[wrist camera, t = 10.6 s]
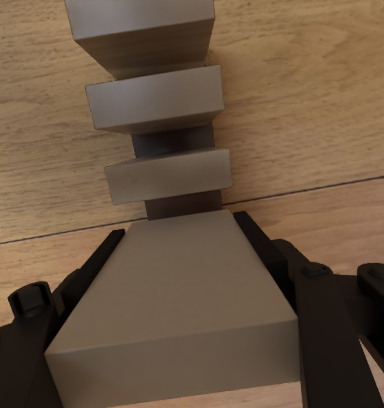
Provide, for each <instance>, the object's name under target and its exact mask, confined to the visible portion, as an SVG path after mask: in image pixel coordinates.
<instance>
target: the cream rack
mask: <svg viewBox="0 0 384 408" xmlns="http://www.w3.org/2000/svg"><path fill="white" fill-rule="evenodd" d="M64 1H65V5H66V10H67V14H68V18H69V22H70V26H71V31H72V35H73V39H74V41H75V42H76V43H77V44H78V45H80V46H81V47H82V48H83V49H84V50H85V51H86V52H87V53H88V54H89V55H90V56H92V57H93V58H94V59H95V60H96V61H97V62H98V63H99V64H100V65H101V66H102V67H104V68H105V69H106V70H107V71H108V72H109V73H110V74H111V75H112V76H113V77H114V78H116V79H117V80H116V81H110V82H103V83H97V84H90V85H86V86H85V89H86V93H87V97H88V102H89V106H90V110H91V114H92V118H93V123H94V127H95V129H96V130H102V131H108V132H115V133H122V134H128V135H131V136H132V141H133V146H134V151H135V156H136V158H135V159H131V160H128V161H124V162H121V163H118V164H114V165H111V166H107V167H105V168H104V169H105V173H106V177H107V181H108V186H109V190H110V194H111V198H112V202H113V205H117V204H124V203H131V202H137V201H144V200H145V205H146V210H147V215H148V220H149V221H151V220H158V219H165V218H171V217H178V216H185V215H192V214H198V213H205V212H212V211H219V210H222V202H221V193H220V189H225V188H232V187H233V181H232V172H231V162H230V153H229V149H227V148H219V147H215V143H214V134H213V126H212V120H213V119H215V118H216V117H217V116H218V115H219V114H220V113H221V112H222V111H224V110H225V105H224V95H223V86H222V76H221V67H220V65H212V66H206V67H205V60H206V56H207V51H208V47H209V43H210V38H211V34H212V30H213V25H214V21H215V9H214V0H64Z"/></svg>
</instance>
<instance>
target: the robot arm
mask: <svg viewBox="0 0 384 408" xmlns="http://www.w3.org/2000/svg"><path fill="white" fill-rule="evenodd" d="M233 215H234V219H235V220H236V222H237V223H238V225H239V226H240V228H241V230H242V231H243V233H244V234H245V236H246V237H247V239H248V241H249V242H250V244H251V245H252V247H253V248H254V250H255V251H256V253H257V255H258V256H259V258H260V259H261V261H262V262H263V264H264V265H265V267H266V269H267V270H268V272H269V273H270V275H271V276H272V278H273V279H274V281H275V283H276V284H277V286H278V287H279V289H280V290H281V292H282V293H283V295H284V297H285V298H286V300H287V301H288V303H289V304H290V306H291V307H292V309H293V311H294V312H295V314H296V315H297V317H298V332H299V355H300V379H301V392H302V403H303V408H384V403H383V401H382V398H381V396H380V393H379V390H378V388H377V385H376V383H375V380H374V377H373V375H372V372H371V370H370V367H369V364H368V362H367V359H366V357H365V354H364V352H363V349H362V346H361V344H360V341H361V342H362V344H363V345H364V346H365V348H366V349H367V350H368V352H369V353H370V355H371V356H372V357H373V359H374V360H375V362H376V363H377V364H378V366H379V367H380V369H381V370H382V371H383V373H384V264H382V263H381V264H380V263H367V264H362V265H360V266H359V267H358V269H357V276H355V275H337V274H333V271H332V270H331V269H330V268H329V267H327V266H326V265H324V264H320V263H317V262H310V261H309V260H308V259H307V258H306V257H305V256H304V255H303V254H302V253H301V252H299V250H297V249H296V248H295V247H294V246H293V245H292V244H291V243H290V242H288V241H286V240H284V239H275V240H270V239H269V238H268V237H267V235H266V234H265V233H264V232H263V231H262V230H261V229H260V227H259V226H258V225H257V224H256V223H255V222H254V221H253V219H252V218H251V217H250V216H249V215H248V214H247V213H246V211H241V212H234V213H233ZM124 235H125V229H119V230H113V231H112V232H111V233H110V234H109V235H108V236H107V238H106V239H105V240H104V241H103V242H102V244H101V245H100V246H99V247H98V248H97V249H96V251H95V252H94V253H93V254H92V255H91V256H90V258H89V259H88V260H87V261H86V262H85V263H84V265H83V266H82V267H81V268H80V269H76V270H75V271H73V272H72V273H70V274H69V275H68V276H67V277H66V278H65V279H64V280H63V282H61V284H60V285H59V286H58V287H57V288H56V289H55V290H54V291H53V292H52V293H51V290H50V287H49V285H48V283H47V282H45V281H39V282H35V283H31V284H28V285H26V286H23V287H21V288H19V289H17V290H16V291H14V292H13V293H12V294H10V296H9V297H8V301H9V303H10V306H11V309H12V311H13V314H14V316H15V318H14V320H13V322H12V323H10V324H7V325H4V326H1V327H0V408H64V407H63V405H62V402H61V399H60V397H59V394H58V391H57V389H56V386H55V383H54V380H53V378H52V375H51V372H50V370H49V367H48V364H47V362H46V359H45V356H44V353H45V351H46V350H47V348H48V347H49V345H50V344H51V342H52V341H53V339H54V338H55V336H56V335H57V334H58V332H59V331H60V329H61V328H62V326H63V325H64V323H65V322H66V320H67V319H68V317H69V316H70V314H71V313H72V311H73V310H74V308H75V307H76V306H77V304H78V303H79V301H80V300H81V298H82V297H83V295H84V294H85V292H86V291H87V289H88V288H89V286H90V285H91V283H92V282H93V281H94V279H95V278H96V276H97V275H98V273H99V272H100V270H101V269H102V267H103V266H104V264H105V263H106V261H107V260H108V258H109V257H110V255H111V254H112V253H113V251H114V250H115V248H116V247H117V245H118V244H119V242H120V241H121V239H122V238H123V236H124ZM358 338H359V339H360V341H359V339H358Z"/></svg>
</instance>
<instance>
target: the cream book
mask: <svg viewBox="0 0 384 408" xmlns="http://www.w3.org/2000/svg"><path fill="white" fill-rule="evenodd" d="M44 356H45V359H46V362H47V364H48V367H49V370H50V372H51V375H52V378H53V380H54V383H55V386H56V389H57V391H58V394H59V397H60V399H61V402H62V405H63V407H64V408H107V407H114V406H121V405H129V404H136V403H143V402H151V401H158V400H165V399H173V398H180V397H187V396H194V395H202V394H209V393H216V392H224V391H231V390H238V389H246V388H253V387H260V386H268V385H275V384H282V383H289V382H297V381H301V379H300V355H299V332H298V317H297V315H296V314H295V312H294V311H293V309H292V307H291V306H290V304H289V303H288V301H287V300H286V298H285V297H284V295H283V293H282V292H281V290H280V289H279V287H278V286H277V284H276V283H275V281H274V279H273V278H272V276H271V275H270V273H269V272H268V270H267V269H266V267H265V265H264V264H263V262H262V261H261V259H260V258H259V256H258V255H257V253H256V251H255V250H254V248H253V247H252V245H251V244H250V242H249V241H248V239H247V237H246V236H245V234H244V233H243V231H242V230H241V228H240V226H239V225H238V223H237V222H236V220H235V219H234V217H233V216H232V214H231V212H230V211H229V209H226V210H219V211H212V212H205V213H198V214H192V215H185V216H178V217H171V218H165V219H158V220H151V221H144V222H137V223H132V225H131V226H130V228H129V229H128V230H127V232H126V233H125V235H124V236H123V238H122V239H121V241H120V242H119V244H118V245H117V247H116V248H115V250H114V251H113V253H112V254H111V255H110V257H109V258H108V260H107V261H106V263H105V264H104V266H103V267H102V269H101V270H100V272H99V273H98V275H97V276H96V278H95V279H94V281H93V282H92V283H91V285H90V286H89V288H88V289H87V291H86V292H85V294H84V295H83V297H82V298H81V300H80V301H79V303H78V304H77V306H76V307H75V308H74V310H73V311H72V313H71V314H70V316H69V317H68V319H67V320H66V322H65V323H64V325H63V326H62V328H61V329H60V331H59V332H58V334H57V335H56V336H55V338H54V339H53V341H52V342H51V344H50V345H49V347H48V348H47V350H46V351H45V353H44Z"/></svg>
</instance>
